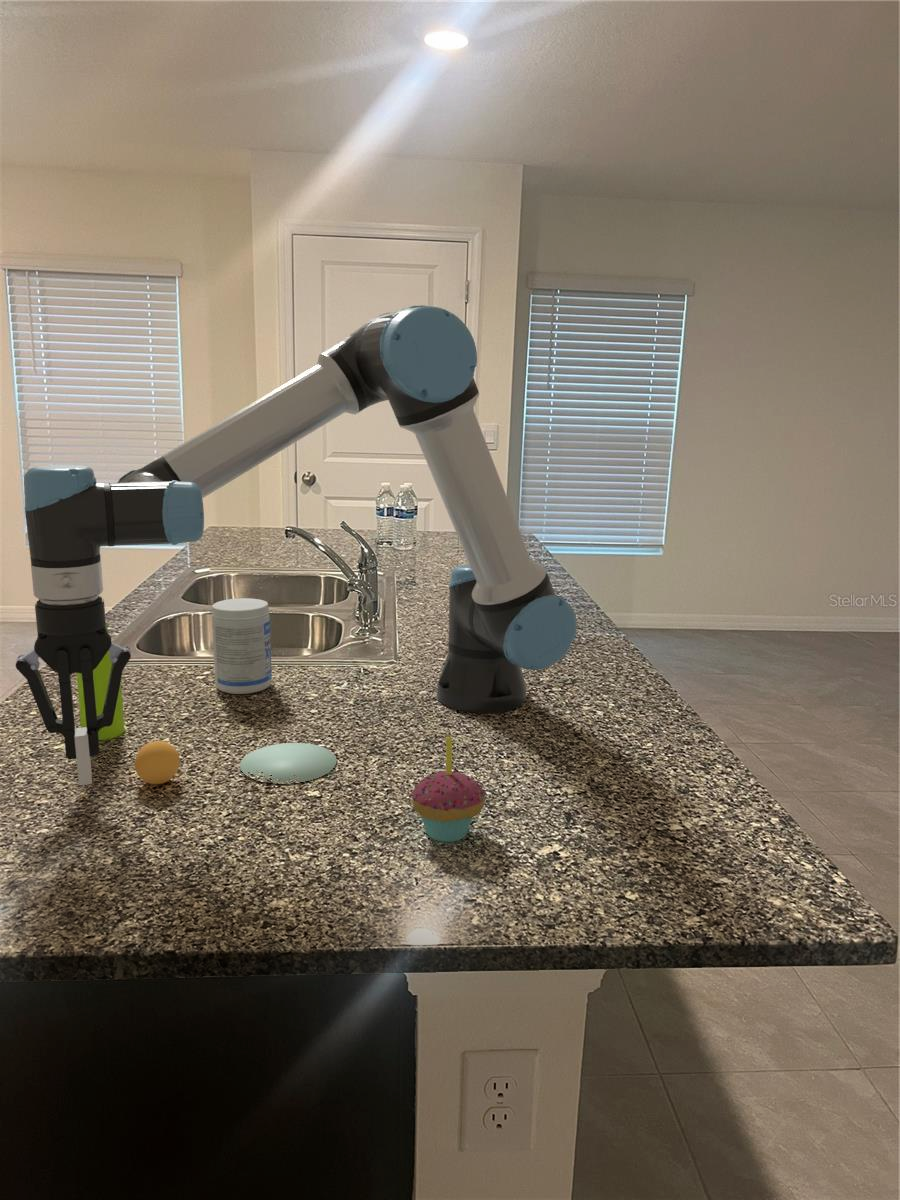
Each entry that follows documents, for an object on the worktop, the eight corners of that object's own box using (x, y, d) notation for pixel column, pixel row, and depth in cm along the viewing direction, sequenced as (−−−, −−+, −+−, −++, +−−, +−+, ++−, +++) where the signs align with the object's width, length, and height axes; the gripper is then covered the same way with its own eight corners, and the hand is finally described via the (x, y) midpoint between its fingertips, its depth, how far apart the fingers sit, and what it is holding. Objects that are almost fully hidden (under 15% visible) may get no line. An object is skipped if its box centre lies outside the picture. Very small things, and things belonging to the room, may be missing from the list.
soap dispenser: (83, 745, 119) (72, 609, 114) (80, 728, 124) (68, 598, 120) (127, 739, 121) (118, 605, 116) (121, 722, 127) (112, 595, 122)
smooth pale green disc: (353, 754, 118) (353, 752, 118) (304, 792, 106) (304, 790, 106) (275, 738, 123) (275, 736, 123) (220, 773, 111) (220, 771, 111)
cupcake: (410, 815, 101) (411, 723, 99) (479, 813, 102) (482, 722, 99) (413, 852, 93) (414, 753, 90) (488, 851, 94) (492, 752, 91)
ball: (189, 777, 110) (187, 738, 108) (160, 795, 105) (158, 754, 103) (156, 769, 112) (154, 731, 110) (126, 786, 107) (123, 746, 105)
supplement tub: (280, 690, 143) (278, 607, 139) (226, 699, 138) (222, 613, 134) (259, 674, 151) (257, 595, 147) (207, 682, 145) (203, 600, 142)
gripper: (4, 609, 93) (25, 801, 99) (129, 600, 98) (142, 784, 104) (10, 594, 100) (29, 775, 105) (126, 587, 105) (139, 760, 110)
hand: (85, 779), depth 105 cm, fingers closed
